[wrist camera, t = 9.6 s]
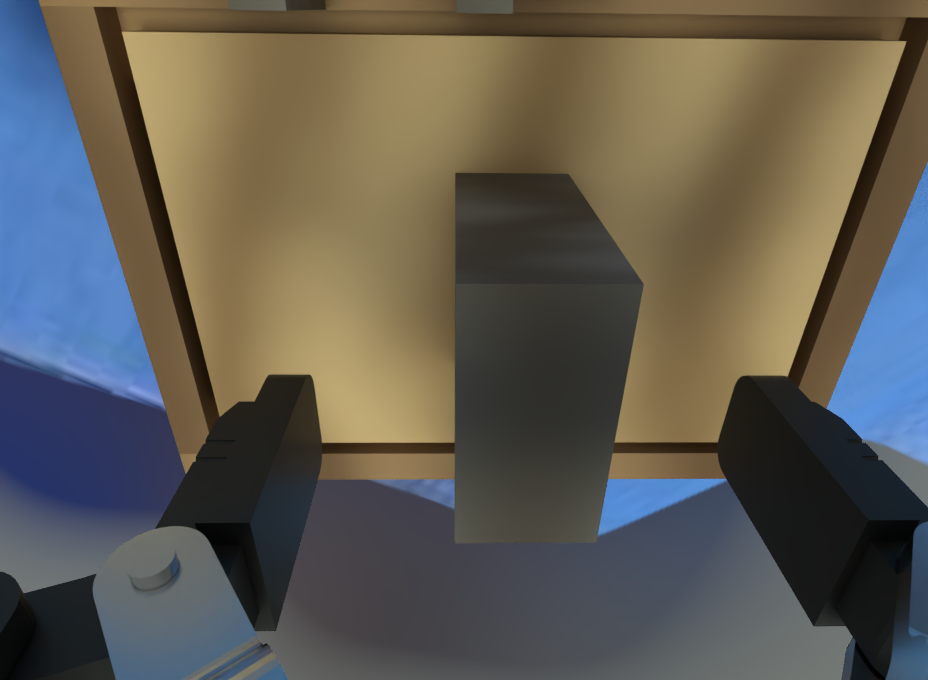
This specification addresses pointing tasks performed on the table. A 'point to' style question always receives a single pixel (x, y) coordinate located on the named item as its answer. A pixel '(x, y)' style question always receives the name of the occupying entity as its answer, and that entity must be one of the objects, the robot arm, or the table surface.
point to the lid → (507, 234)
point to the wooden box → (475, 12)
